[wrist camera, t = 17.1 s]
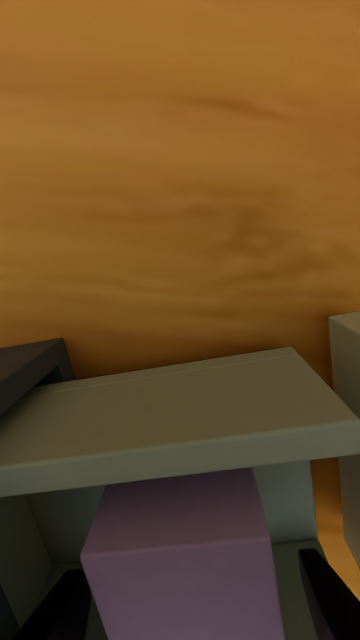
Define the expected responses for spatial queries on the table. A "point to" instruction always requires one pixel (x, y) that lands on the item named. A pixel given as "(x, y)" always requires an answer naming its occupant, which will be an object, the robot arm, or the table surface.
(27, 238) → the table surface
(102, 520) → the block
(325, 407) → the drawer
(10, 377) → the cabinet
